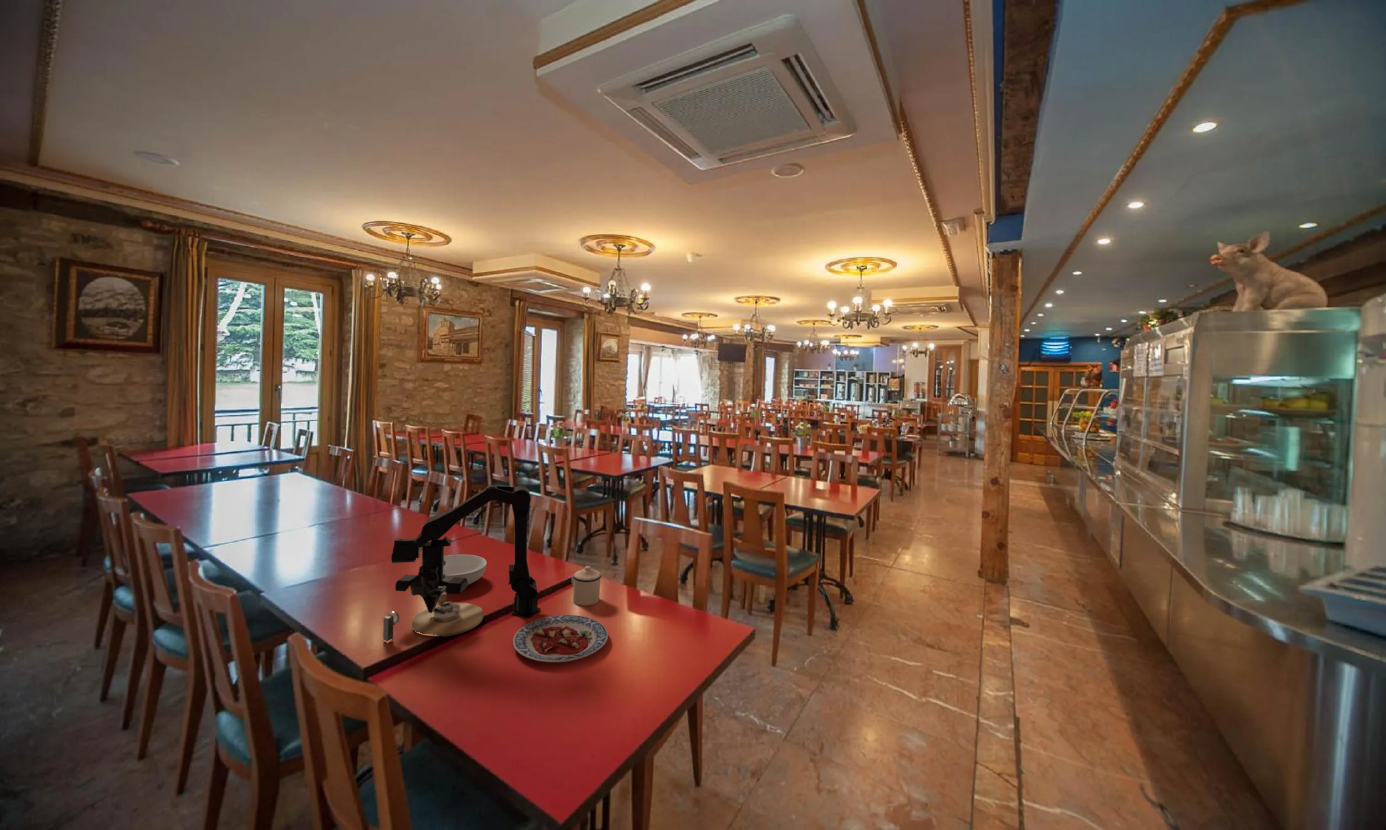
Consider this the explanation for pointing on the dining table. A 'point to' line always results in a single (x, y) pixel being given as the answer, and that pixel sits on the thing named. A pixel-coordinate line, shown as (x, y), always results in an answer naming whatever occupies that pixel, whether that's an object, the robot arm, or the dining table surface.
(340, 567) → the dining table surface
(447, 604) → the cover
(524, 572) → the robot arm
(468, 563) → the serving bowl
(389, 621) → the dial gauge
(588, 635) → the ceramic plate
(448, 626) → the tan piece
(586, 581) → the teacup with lid
